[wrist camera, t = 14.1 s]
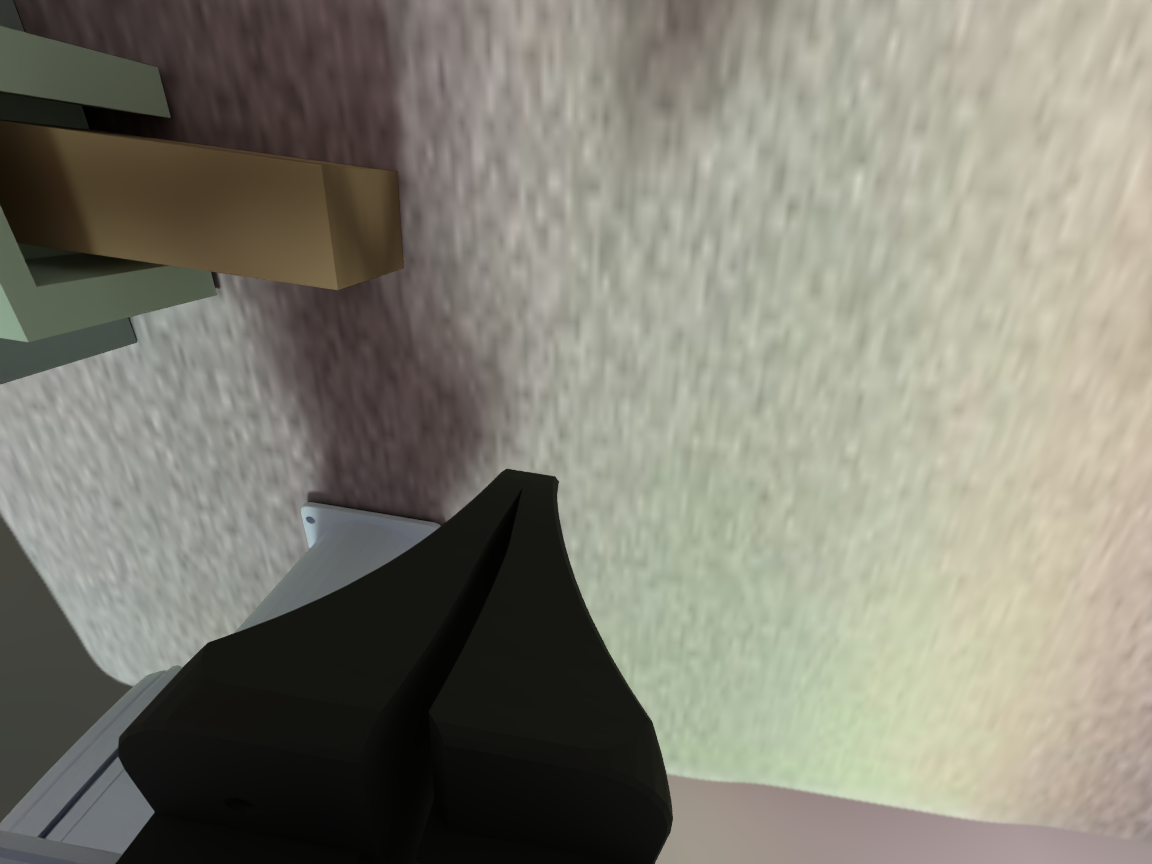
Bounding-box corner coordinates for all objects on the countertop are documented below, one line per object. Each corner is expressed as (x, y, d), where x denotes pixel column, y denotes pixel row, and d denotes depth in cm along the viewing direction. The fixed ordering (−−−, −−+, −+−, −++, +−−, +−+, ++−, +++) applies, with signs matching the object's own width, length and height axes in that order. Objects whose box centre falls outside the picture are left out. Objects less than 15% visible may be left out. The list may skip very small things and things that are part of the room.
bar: (405, 267, 19) (338, 290, 14) (133, 227, 19) (-13, 238, 15) (399, 171, 17) (321, 165, 13) (101, 130, 18) (-74, 110, 13)
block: (216, 295, 20) (28, 342, 14) (109, 278, 20) (-126, 318, 14) (157, 67, 16) (-142, -12, 10) (24, 49, 16) (-353, -40, 10)
